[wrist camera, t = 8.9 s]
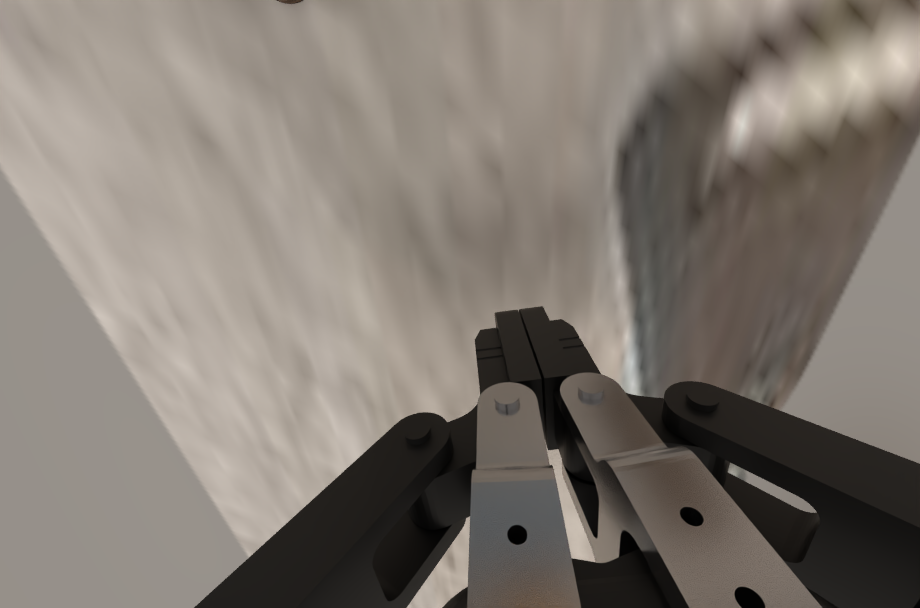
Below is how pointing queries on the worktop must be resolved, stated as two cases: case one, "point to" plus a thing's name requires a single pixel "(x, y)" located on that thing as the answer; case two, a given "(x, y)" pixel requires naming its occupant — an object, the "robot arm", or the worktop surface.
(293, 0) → the post
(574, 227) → the worktop surface
